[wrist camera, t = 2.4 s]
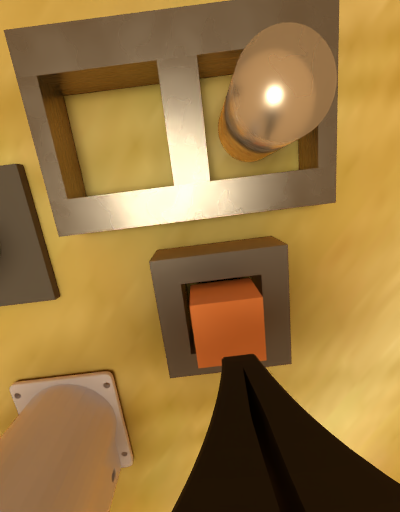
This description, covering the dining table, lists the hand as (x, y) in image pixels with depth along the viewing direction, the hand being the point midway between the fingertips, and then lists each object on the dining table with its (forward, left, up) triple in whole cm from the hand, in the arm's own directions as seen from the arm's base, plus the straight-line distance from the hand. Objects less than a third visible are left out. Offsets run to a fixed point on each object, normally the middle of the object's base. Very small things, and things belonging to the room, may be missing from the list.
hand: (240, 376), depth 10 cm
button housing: (0, 0, -8) cm, 8 cm away
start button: (0, 0, -6) cm, 6 cm away
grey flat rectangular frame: (+11, +1, -8) cm, 14 cm away
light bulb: (+11, -3, -8) cm, 14 cm away
